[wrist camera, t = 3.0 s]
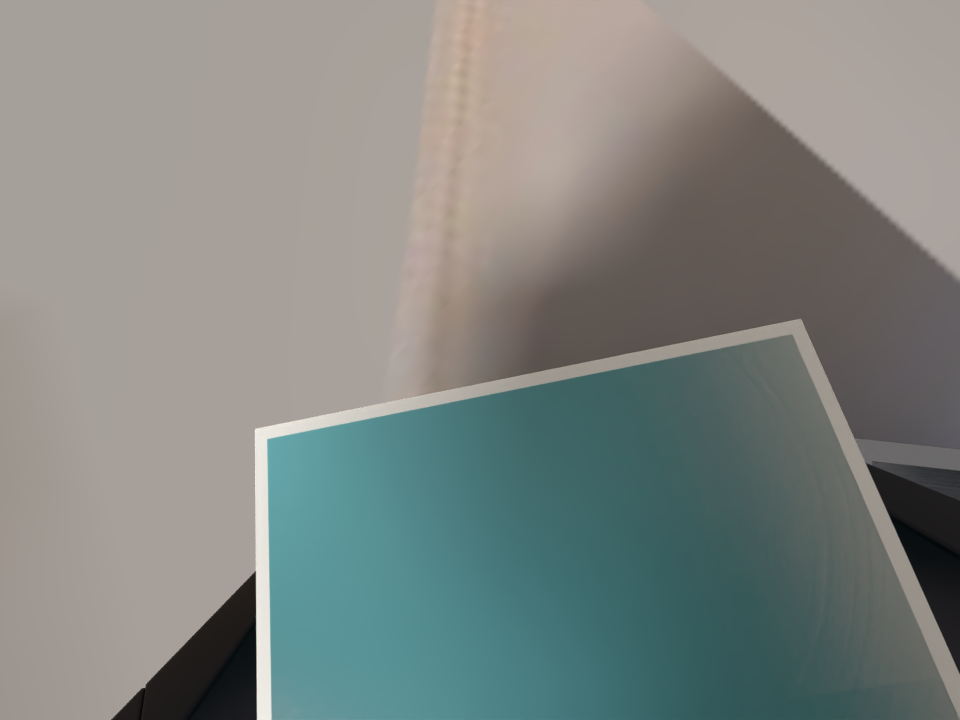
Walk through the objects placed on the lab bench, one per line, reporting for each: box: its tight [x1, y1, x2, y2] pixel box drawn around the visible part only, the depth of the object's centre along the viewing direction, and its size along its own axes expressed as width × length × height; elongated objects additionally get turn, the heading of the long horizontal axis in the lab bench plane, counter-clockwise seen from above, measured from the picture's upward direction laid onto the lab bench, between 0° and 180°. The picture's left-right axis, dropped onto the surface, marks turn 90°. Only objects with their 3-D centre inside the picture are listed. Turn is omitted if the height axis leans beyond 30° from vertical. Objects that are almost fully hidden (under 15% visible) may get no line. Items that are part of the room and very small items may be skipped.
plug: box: [255, 319, 960, 720], centre depth 9 cm, size 4×4×13 cm
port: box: [854, 438, 960, 500], centre depth 11 cm, size 6×6×4 cm
